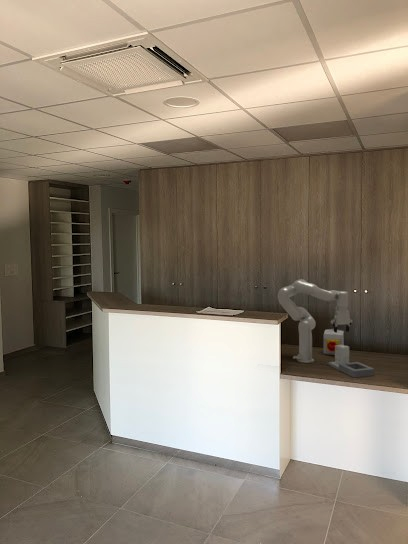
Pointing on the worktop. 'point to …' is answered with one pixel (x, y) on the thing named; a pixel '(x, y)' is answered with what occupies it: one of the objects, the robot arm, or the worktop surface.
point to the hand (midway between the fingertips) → (341, 331)
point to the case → (353, 369)
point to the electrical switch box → (332, 340)
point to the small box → (341, 354)
